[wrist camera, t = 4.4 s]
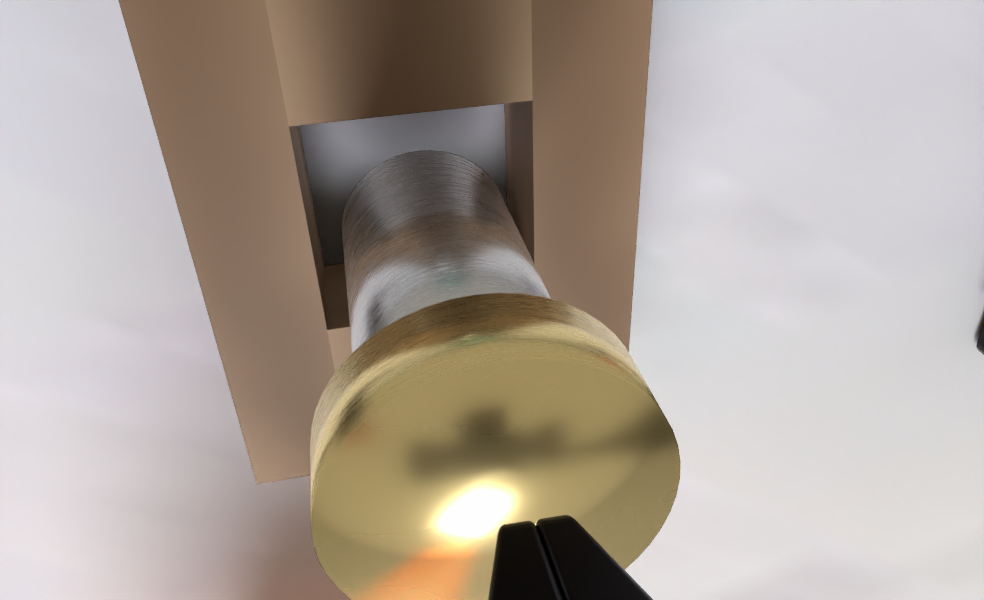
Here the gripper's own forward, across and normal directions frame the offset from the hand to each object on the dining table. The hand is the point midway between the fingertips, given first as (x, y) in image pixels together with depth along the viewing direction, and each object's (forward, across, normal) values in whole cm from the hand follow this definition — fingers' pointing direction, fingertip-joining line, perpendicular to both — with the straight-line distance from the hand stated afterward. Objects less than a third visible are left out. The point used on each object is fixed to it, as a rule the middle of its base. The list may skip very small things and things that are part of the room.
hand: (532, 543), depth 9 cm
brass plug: (+10, 0, +1) cm, 10 cm away
